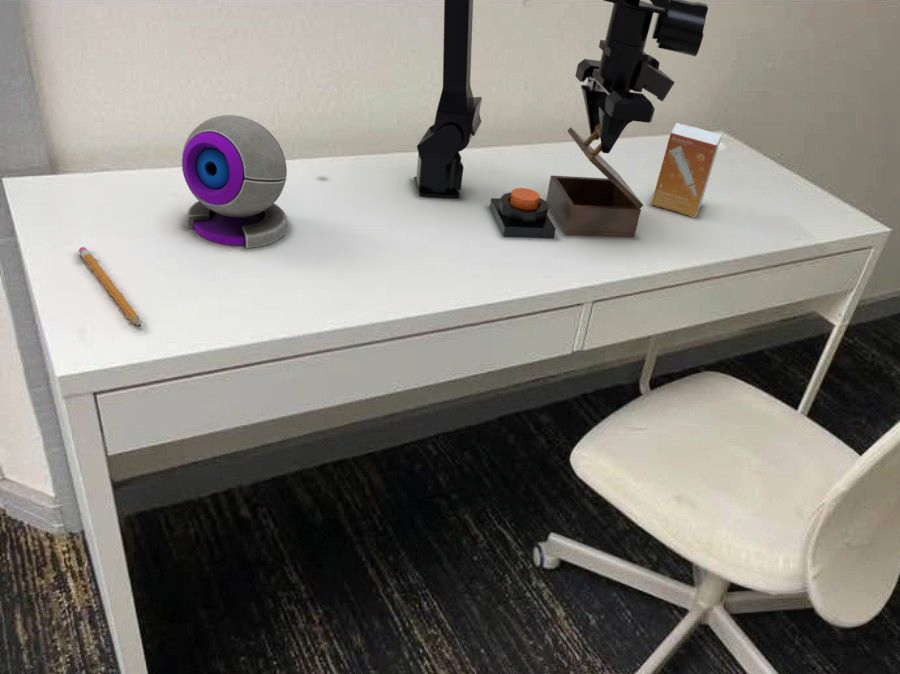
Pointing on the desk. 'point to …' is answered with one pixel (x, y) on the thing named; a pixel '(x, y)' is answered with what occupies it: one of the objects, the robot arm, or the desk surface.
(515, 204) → the release button
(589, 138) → the lid
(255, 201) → the webcam
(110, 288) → the pencil
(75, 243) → the desk surface
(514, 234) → the panel
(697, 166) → the small box
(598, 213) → the storage box
